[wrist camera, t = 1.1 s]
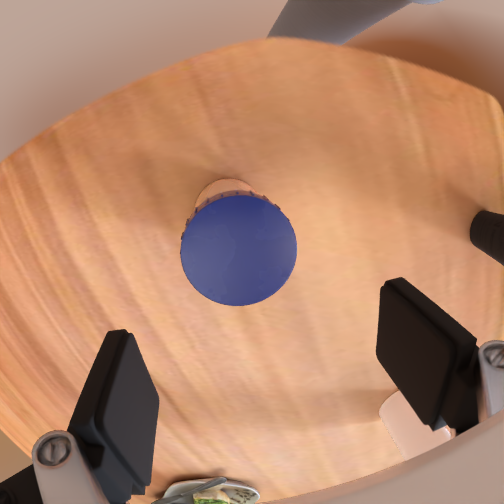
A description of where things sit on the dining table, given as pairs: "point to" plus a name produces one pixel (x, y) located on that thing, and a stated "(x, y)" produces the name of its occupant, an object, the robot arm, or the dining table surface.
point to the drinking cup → (489, 234)
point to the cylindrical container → (409, 428)
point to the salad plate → (209, 492)
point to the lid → (238, 248)
